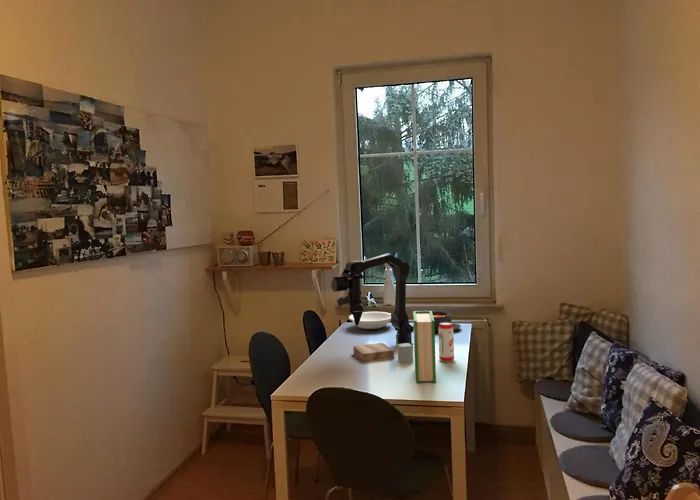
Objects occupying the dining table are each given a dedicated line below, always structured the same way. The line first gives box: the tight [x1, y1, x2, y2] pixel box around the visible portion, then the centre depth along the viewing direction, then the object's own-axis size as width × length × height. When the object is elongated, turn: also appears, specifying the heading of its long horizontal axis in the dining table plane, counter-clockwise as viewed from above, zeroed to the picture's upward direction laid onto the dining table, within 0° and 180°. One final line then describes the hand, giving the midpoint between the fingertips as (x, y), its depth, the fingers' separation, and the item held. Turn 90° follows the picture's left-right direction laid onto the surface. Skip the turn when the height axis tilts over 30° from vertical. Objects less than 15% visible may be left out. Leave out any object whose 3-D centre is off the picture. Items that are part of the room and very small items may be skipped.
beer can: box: [438, 322, 455, 363], centre depth 240 cm, size 6×6×16 cm
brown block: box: [352, 342, 395, 363], centre depth 253 cm, size 14×14×4 cm
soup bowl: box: [348, 311, 392, 330], centre depth 305 cm, size 24×24×7 cm
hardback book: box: [412, 310, 437, 385], centre depth 221 cm, size 18×7×24 cm, turn 175°
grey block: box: [396, 343, 414, 364], centre depth 243 cm, size 5×5×7 cm
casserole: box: [411, 310, 461, 333], centre depth 296 cm, size 25×19×8 cm
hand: (356, 323), depth 257 cm, fingers open, 9 cm apart
